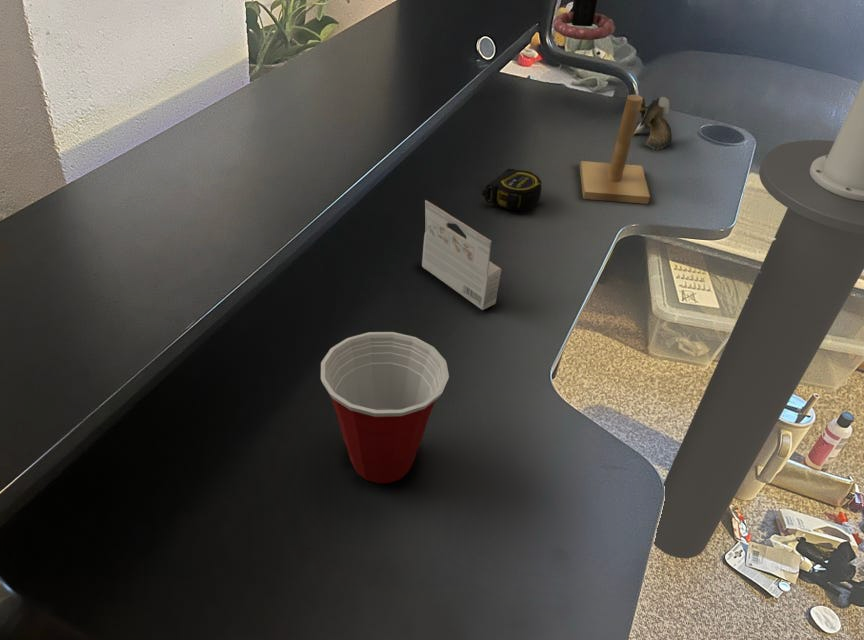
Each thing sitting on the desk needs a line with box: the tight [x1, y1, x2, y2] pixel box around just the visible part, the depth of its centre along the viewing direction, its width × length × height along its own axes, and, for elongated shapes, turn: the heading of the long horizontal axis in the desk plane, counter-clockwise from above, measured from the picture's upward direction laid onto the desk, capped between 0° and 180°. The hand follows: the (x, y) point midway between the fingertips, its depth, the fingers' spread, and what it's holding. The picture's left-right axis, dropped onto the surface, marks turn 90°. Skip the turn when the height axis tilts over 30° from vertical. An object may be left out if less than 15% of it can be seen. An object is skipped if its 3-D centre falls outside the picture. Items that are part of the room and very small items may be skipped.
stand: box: [579, 94, 651, 205], centre depth 103 cm, size 9×9×13 cm
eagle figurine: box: [633, 96, 673, 151], centre depth 117 cm, size 8×7×9 cm
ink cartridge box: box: [421, 199, 502, 311], centre depth 86 cm, size 2×11×10 cm, turn 39°
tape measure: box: [481, 168, 543, 211], centre depth 102 cm, size 7×7×4 cm
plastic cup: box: [320, 331, 450, 484], centre depth 66 cm, size 11×11×12 cm
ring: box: [552, 11, 616, 41], centre depth 114 cm, size 9×9×2 cm
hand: (581, 21), depth 117 cm, fingers closed on ring, 2 cm apart
